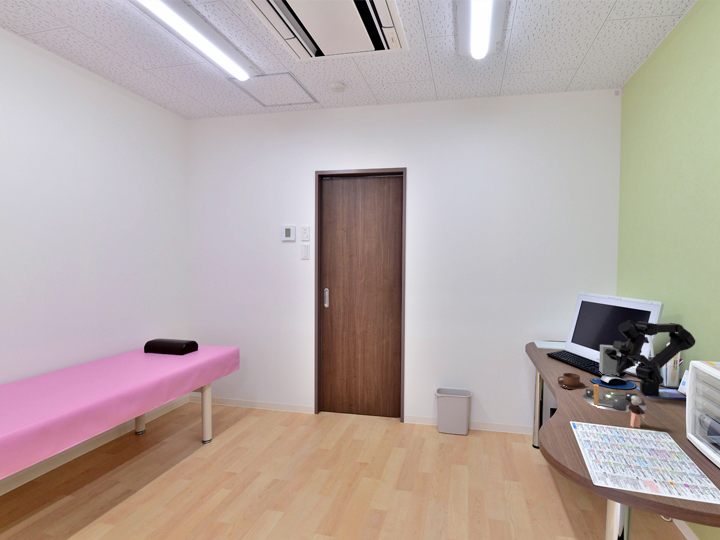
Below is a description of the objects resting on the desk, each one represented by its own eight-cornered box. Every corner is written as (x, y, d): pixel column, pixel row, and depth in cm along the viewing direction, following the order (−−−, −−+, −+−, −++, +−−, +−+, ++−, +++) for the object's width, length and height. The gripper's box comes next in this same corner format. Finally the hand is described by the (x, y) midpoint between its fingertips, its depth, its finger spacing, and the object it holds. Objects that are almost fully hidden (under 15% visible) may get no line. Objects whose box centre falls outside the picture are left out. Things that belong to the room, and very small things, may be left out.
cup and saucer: (566, 392, 191) (566, 379, 191) (553, 384, 203) (553, 372, 203) (590, 391, 192) (590, 378, 192) (576, 383, 204) (576, 371, 204)
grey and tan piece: (626, 407, 167) (626, 387, 167) (626, 411, 163) (626, 391, 163) (593, 402, 174) (593, 383, 173) (593, 405, 170) (593, 386, 169)
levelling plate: (636, 397, 183) (636, 386, 182) (656, 417, 160) (656, 405, 160) (577, 392, 190) (577, 381, 190) (588, 411, 168) (588, 399, 168)
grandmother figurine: (622, 426, 153) (622, 393, 153) (629, 424, 155) (629, 392, 154) (642, 434, 146) (642, 400, 146) (649, 432, 148) (650, 398, 147)
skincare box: (602, 376, 214) (602, 346, 213) (598, 372, 220) (598, 343, 220) (620, 377, 211) (620, 347, 211) (616, 373, 218) (616, 344, 217)
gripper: (605, 331, 190) (589, 357, 187) (643, 337, 172) (625, 366, 169) (620, 345, 192) (603, 371, 189) (658, 352, 174) (641, 381, 171)
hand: (617, 372), depth 179 cm, fingers closed
